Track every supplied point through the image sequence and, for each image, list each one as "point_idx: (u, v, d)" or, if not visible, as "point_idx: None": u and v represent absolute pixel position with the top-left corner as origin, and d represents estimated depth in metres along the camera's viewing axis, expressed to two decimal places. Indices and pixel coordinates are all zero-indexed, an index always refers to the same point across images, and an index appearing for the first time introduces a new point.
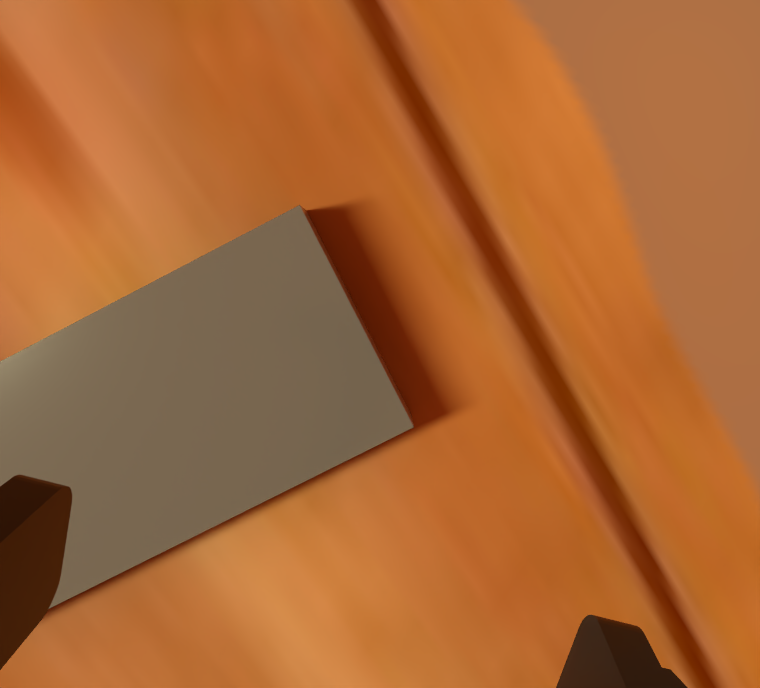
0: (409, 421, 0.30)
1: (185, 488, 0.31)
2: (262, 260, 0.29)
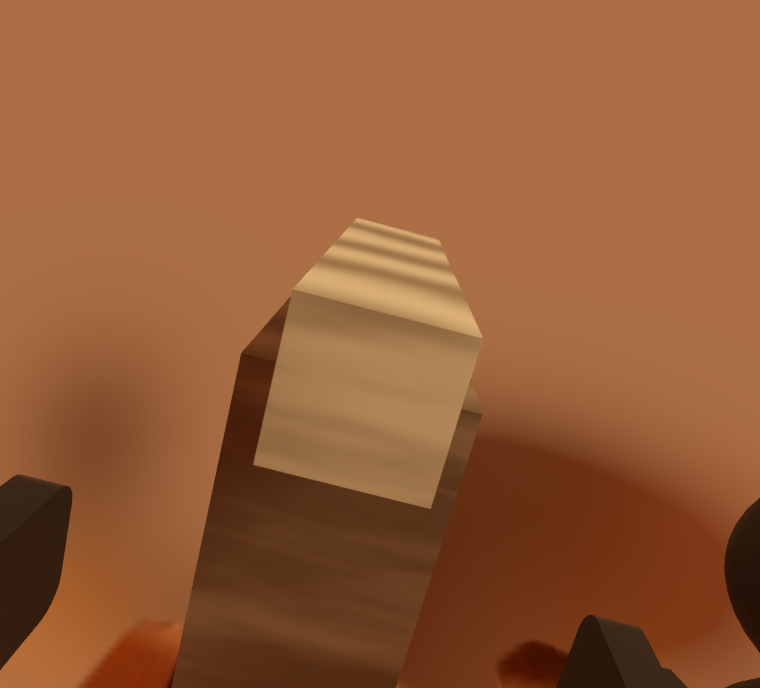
0: None
1: None
2: None
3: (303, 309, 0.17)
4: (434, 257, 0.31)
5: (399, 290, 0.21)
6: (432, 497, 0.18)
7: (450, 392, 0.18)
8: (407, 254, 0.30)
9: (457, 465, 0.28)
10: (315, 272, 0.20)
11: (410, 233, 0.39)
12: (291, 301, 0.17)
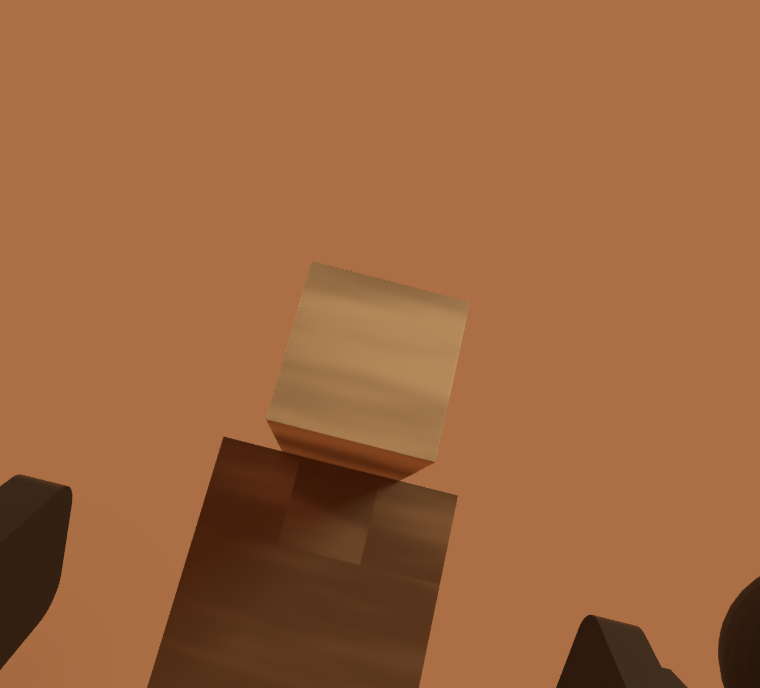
0: None
1: None
2: None
3: (320, 277, 0.20)
4: None
5: None
6: (436, 449, 0.19)
7: (446, 348, 0.20)
8: None
9: (437, 552, 0.27)
10: None
11: None
12: (310, 271, 0.21)
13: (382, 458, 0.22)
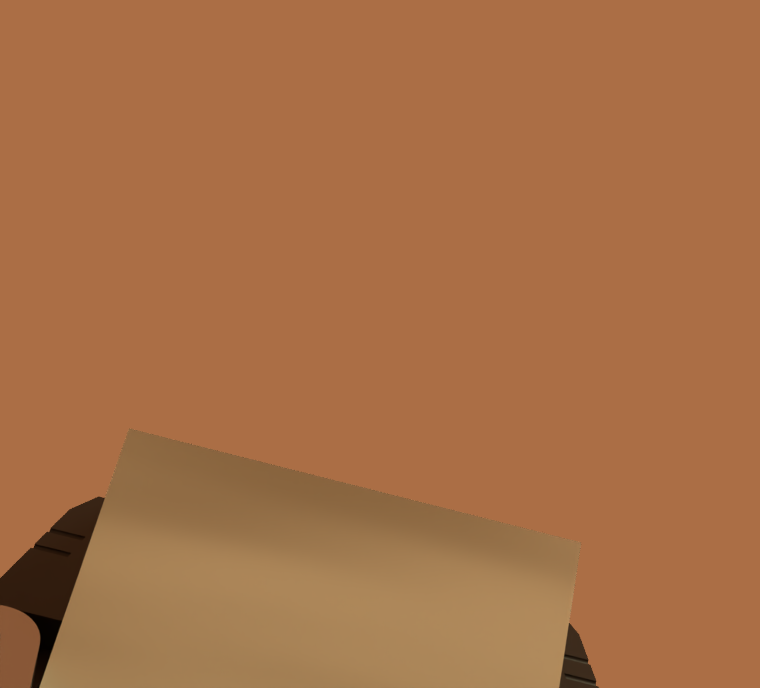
0: None
1: None
2: None
3: (150, 478, 0.07)
4: None
5: None
6: None
7: None
8: None
9: None
10: None
11: None
12: (123, 459, 0.07)
13: None
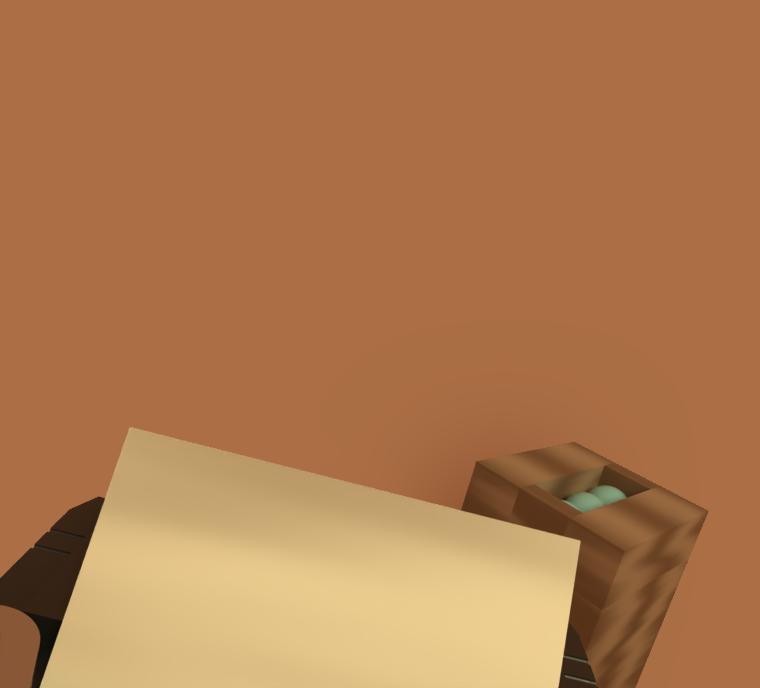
0: None
1: None
2: None
3: (151, 476, 0.07)
4: None
5: None
6: None
7: None
8: None
9: (603, 587, 0.35)
10: None
11: None
12: (123, 458, 0.07)
13: None
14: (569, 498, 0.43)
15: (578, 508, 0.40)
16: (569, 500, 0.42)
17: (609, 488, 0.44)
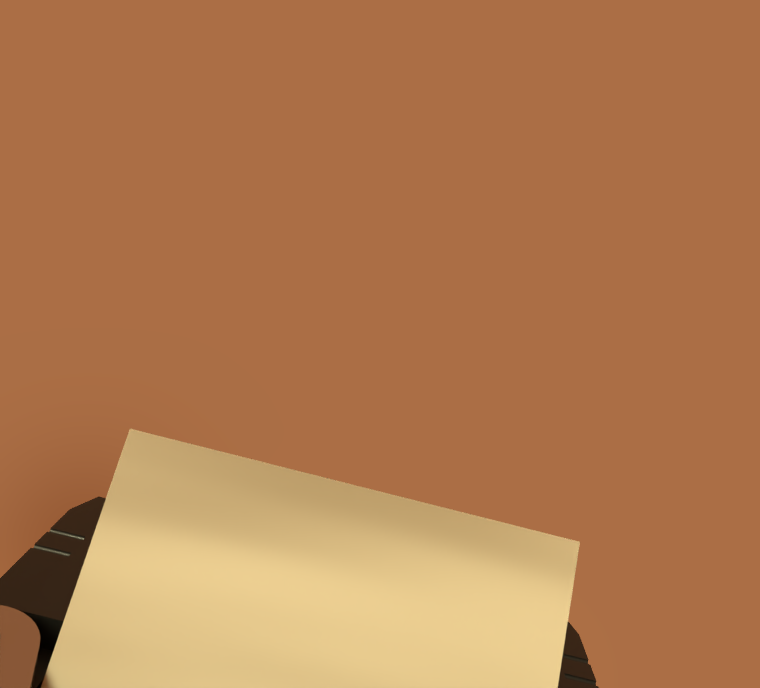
0: None
1: None
2: None
3: (151, 477, 0.07)
4: None
5: None
6: None
7: None
8: None
9: None
10: None
11: None
12: (124, 459, 0.07)
13: None
14: None
15: None
16: None
17: None
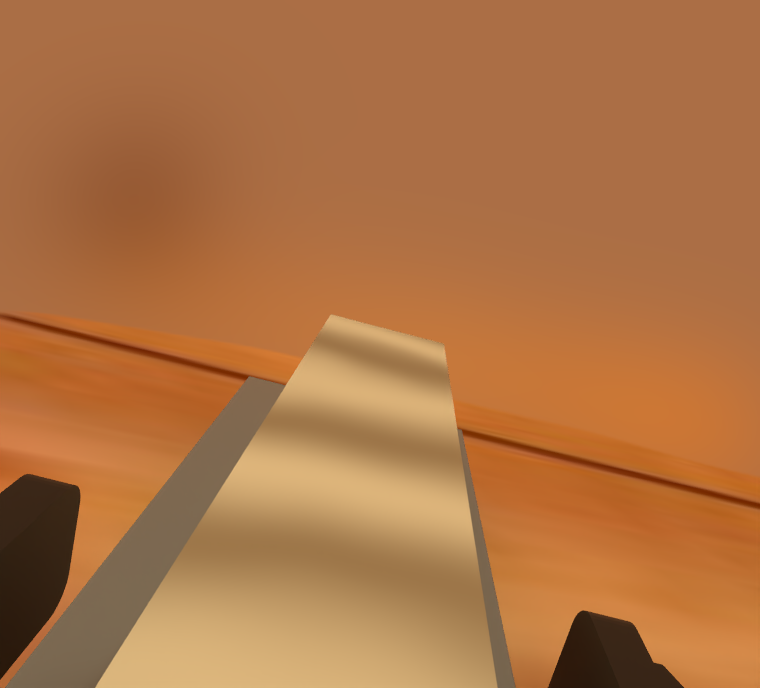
0: None
1: None
2: (265, 399, 0.31)
3: None
4: (434, 417, 0.20)
5: (341, 659, 0.09)
6: None
7: None
8: (389, 423, 0.18)
9: None
10: (141, 639, 0.09)
11: (404, 339, 0.28)
12: None
13: None
14: None
15: None
16: None
17: None
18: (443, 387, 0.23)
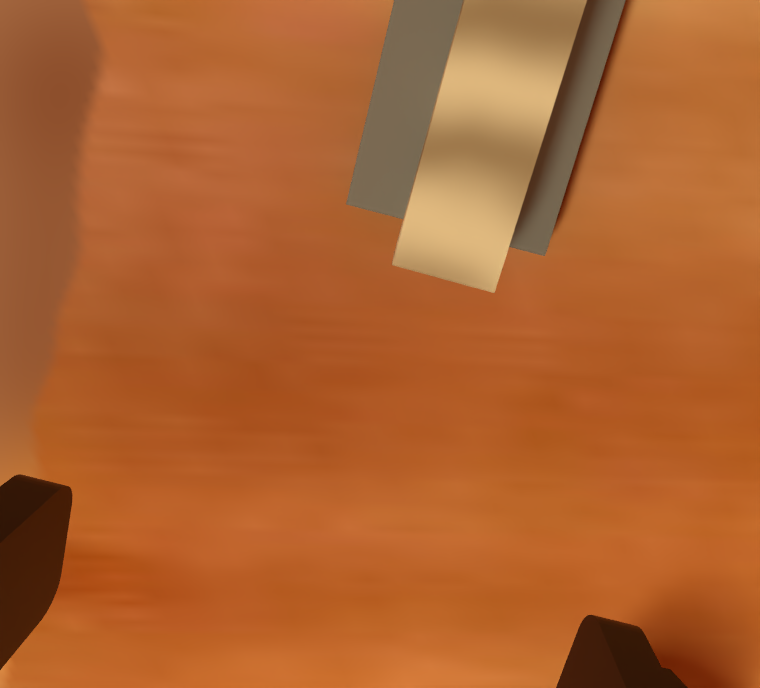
0: None
1: None
2: None
3: None
4: None
5: (471, 203, 0.31)
6: None
7: None
8: None
9: None
10: (413, 200, 0.31)
11: None
12: (393, 263, 0.32)
13: None
14: None
15: None
16: None
17: None
18: None
